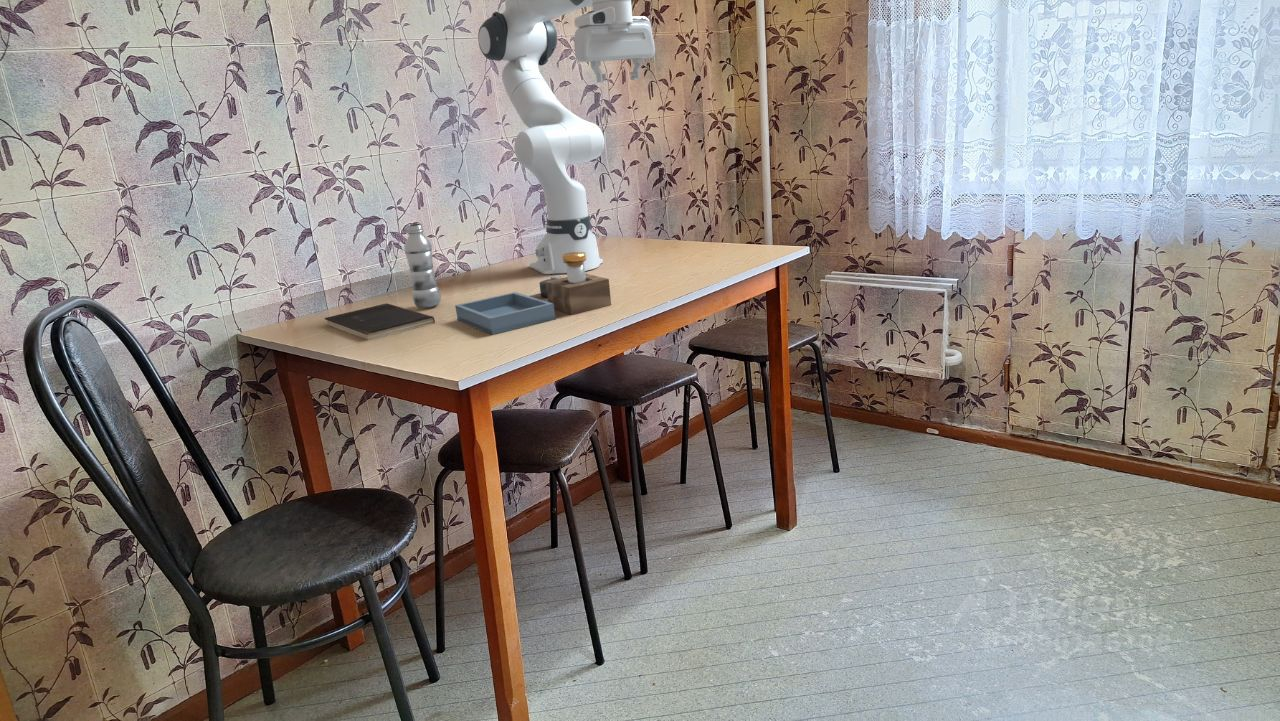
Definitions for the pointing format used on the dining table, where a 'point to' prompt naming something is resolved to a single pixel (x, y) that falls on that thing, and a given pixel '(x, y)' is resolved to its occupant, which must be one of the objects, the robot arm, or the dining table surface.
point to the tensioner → (575, 294)
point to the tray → (505, 312)
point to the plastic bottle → (421, 267)
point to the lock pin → (575, 266)
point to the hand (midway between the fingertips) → (618, 81)
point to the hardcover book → (379, 321)
